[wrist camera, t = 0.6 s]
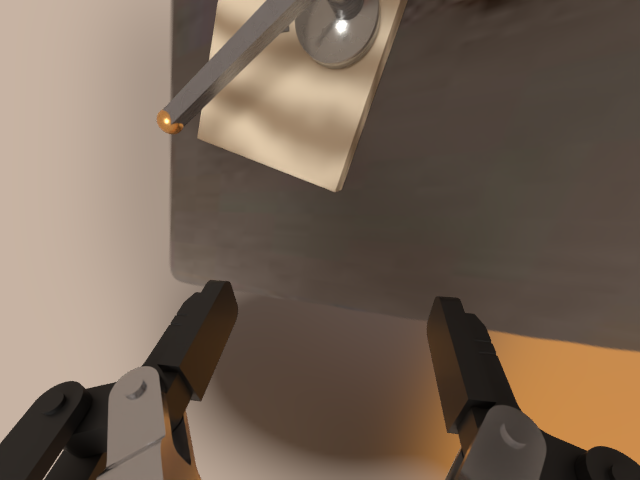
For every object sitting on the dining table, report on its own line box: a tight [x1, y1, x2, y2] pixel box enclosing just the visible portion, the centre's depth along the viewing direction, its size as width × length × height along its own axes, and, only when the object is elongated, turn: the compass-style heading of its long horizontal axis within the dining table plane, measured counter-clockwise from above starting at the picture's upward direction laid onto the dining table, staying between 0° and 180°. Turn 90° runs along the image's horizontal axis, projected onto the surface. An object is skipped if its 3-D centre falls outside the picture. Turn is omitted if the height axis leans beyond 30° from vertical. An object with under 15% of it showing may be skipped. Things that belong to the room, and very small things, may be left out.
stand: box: [198, 0, 408, 192], centre depth 32 cm, size 26×20×3 cm
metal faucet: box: [157, 0, 381, 134], centre depth 27 cm, size 23×8×9 cm, turn 122°
